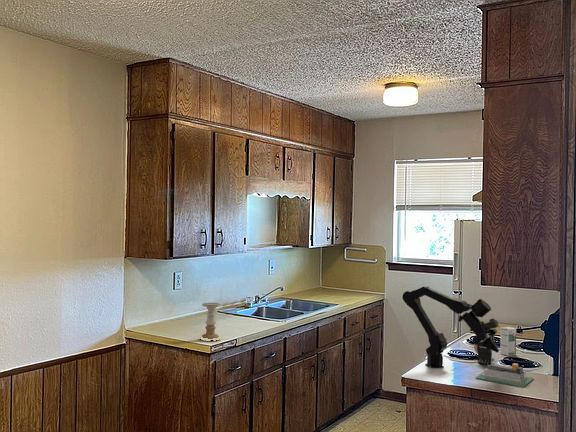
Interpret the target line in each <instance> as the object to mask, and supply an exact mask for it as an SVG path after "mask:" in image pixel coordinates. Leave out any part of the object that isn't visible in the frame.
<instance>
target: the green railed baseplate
mask: <svg viewBox="0 0 576 432" xmlns="http://www.w3.org/2000/svg"><path fill="white" fill-rule="evenodd" d="M492 364H495V365H496V363H495V362H492V363H491V365H486V366H487V367H485V368H484V369H483V372H482V373H481V374H479V375H477V376H476V377H475V379H476V380H480V381H485V382H492V383H498V384H502V385H507V386H512V387H519V388H525V387H526V386H527V385H528V384H530V383H531V382H532V381H533V380H534V379H535V378H534V377H530V376H528V375H527V371H526V370H524V367H522V366H518V368H517V371H516V372H513V371H508V370H502V369H497V368H492Z"/></svg>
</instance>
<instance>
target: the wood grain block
mask: <svg viewBox="0 0 576 432" xmlns="http://www.w3.org/2000/svg"><path fill="white" fill-rule="evenodd" d="M518 367H519V363H515V362H514V363H512V364H511V367H509V366H505V365H500V364H496V363H495V364H492V368H497V369H502V370H508V371H513V372H516V371H517V368H518Z"/></svg>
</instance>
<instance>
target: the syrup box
mask: <svg viewBox="0 0 576 432" xmlns="http://www.w3.org/2000/svg"><path fill="white" fill-rule="evenodd" d="M499 340H500V344H499V345H500V350H499V353H500V355H503V356H506V357H510V356H516V355H517V328H516V327H512V326H506V327H505V326H503V327H500V339H499Z"/></svg>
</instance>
